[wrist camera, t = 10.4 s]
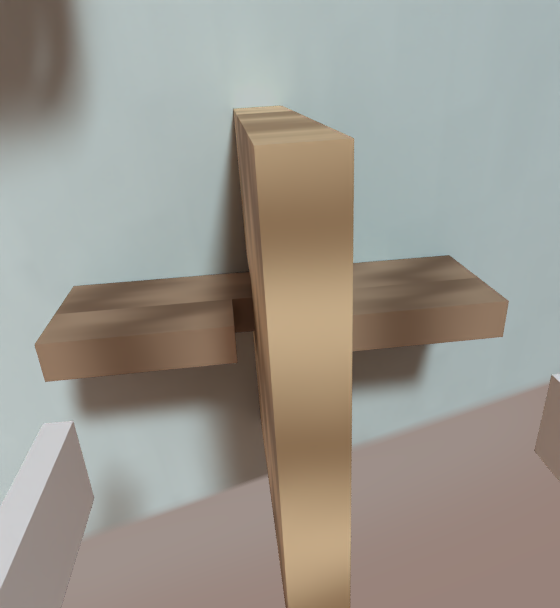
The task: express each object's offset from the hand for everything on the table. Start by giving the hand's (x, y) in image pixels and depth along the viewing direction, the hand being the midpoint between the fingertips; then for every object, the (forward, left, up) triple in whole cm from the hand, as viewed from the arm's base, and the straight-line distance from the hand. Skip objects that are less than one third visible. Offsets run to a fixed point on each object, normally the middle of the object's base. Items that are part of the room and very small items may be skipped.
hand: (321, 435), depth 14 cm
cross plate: (0, 0, -11) cm, 11 cm away
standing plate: (0, 0, -11) cm, 11 cm away
